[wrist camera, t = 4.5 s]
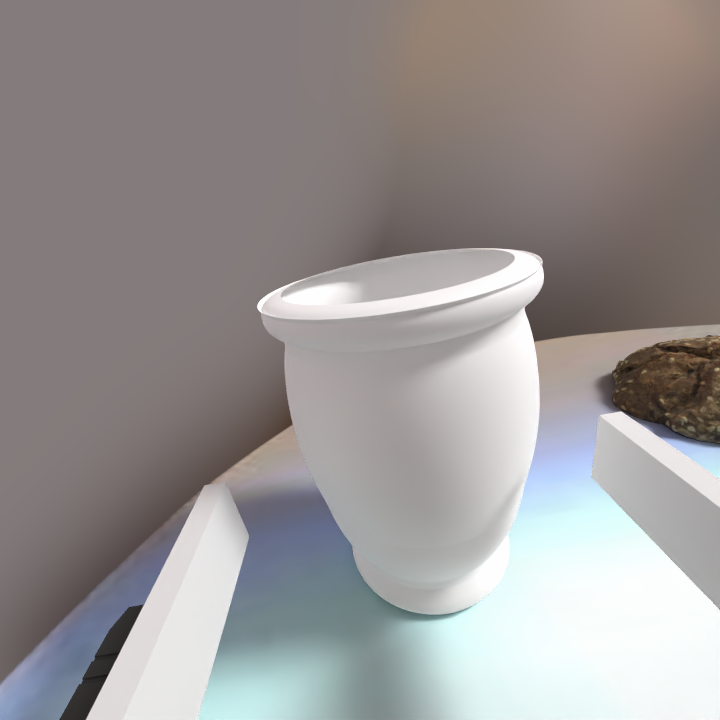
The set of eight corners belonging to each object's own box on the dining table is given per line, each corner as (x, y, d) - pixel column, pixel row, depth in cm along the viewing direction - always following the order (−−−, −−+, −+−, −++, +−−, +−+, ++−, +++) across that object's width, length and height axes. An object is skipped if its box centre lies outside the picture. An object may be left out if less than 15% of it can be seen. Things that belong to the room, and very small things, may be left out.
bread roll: (781, 368, 28) (802, 310, 26) (927, 473, 18) (980, 392, 16) (595, 364, 33) (601, 316, 31) (626, 443, 23) (638, 380, 21)
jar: (336, 667, 14) (216, 341, 8) (334, 488, 24) (278, 276, 18) (581, 620, 14) (635, 261, 8) (481, 459, 24) (473, 238, 18)
